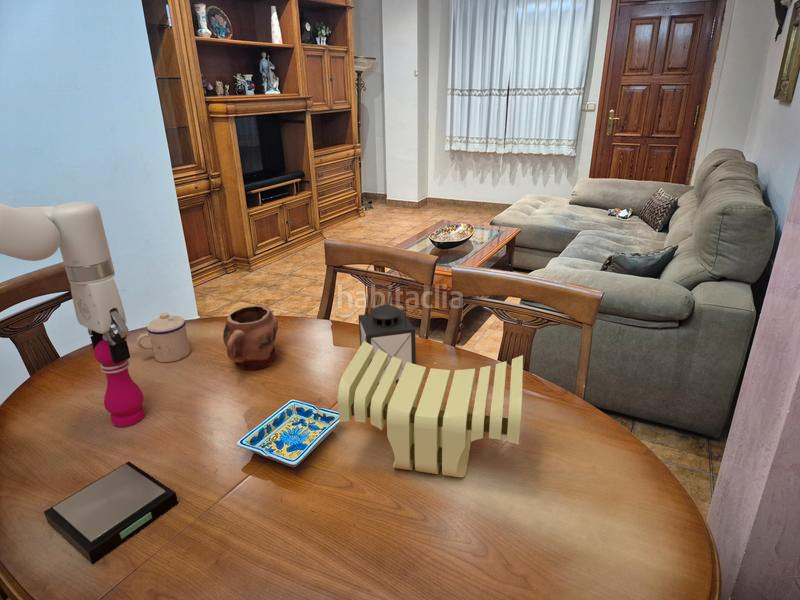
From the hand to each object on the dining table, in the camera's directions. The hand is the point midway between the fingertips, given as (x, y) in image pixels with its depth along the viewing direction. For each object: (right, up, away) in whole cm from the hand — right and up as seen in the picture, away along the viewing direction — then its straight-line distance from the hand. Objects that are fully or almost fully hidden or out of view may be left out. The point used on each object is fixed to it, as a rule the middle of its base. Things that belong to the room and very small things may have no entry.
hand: (112, 355), depth 101 cm
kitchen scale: (+11, -24, -18) cm, 32 cm away
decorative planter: (+21, -5, +25) cm, 33 cm away
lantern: (+54, -6, +21) cm, 58 cm away
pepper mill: (0, -14, +6) cm, 15 cm away
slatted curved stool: (+63, -18, -6) cm, 66 cm away
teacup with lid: (-3, -4, +31) cm, 31 cm away
